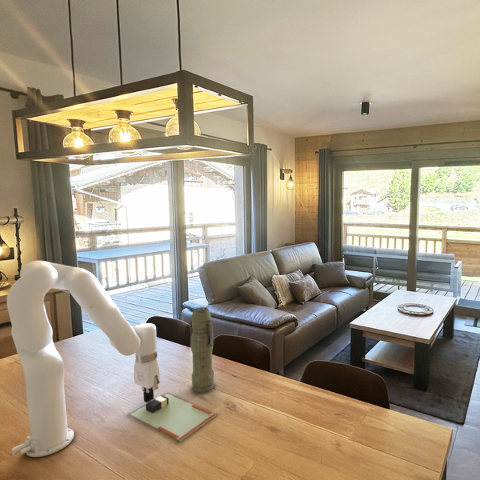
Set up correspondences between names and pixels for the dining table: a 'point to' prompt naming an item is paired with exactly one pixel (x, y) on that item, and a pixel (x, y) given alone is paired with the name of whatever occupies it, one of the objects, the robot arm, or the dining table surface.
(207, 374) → the thermos
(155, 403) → the eraser
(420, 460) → the dining table surface
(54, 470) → the dining table surface
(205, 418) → the desk mat
